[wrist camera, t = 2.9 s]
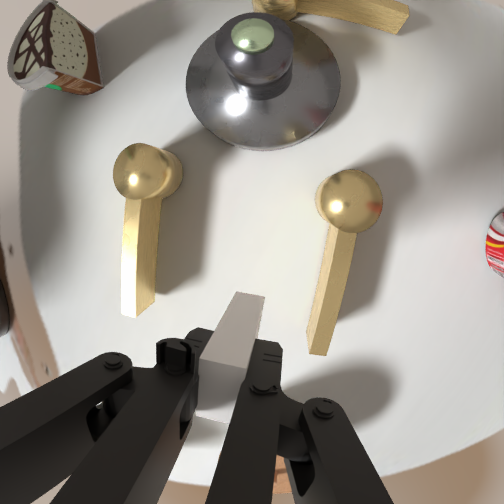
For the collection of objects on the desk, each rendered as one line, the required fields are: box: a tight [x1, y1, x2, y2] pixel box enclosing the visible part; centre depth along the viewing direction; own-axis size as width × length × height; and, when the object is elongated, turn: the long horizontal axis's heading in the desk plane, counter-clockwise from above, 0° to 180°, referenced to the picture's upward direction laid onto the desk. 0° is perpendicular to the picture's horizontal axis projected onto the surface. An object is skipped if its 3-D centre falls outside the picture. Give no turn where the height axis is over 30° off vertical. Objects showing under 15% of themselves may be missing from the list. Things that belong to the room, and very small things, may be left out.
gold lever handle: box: [306, 170, 383, 356], centre depth 22 cm, size 14×4×5 cm, turn 172°
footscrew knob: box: [113, 143, 183, 318], centre depth 23 cm, size 14×4×5 cm, turn 172°
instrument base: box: [186, 0, 409, 151], centre depth 17 cm, size 18×18×9 cm
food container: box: [7, 0, 104, 95], centre depth 18 cm, size 12×6×10 cm, turn 20°
